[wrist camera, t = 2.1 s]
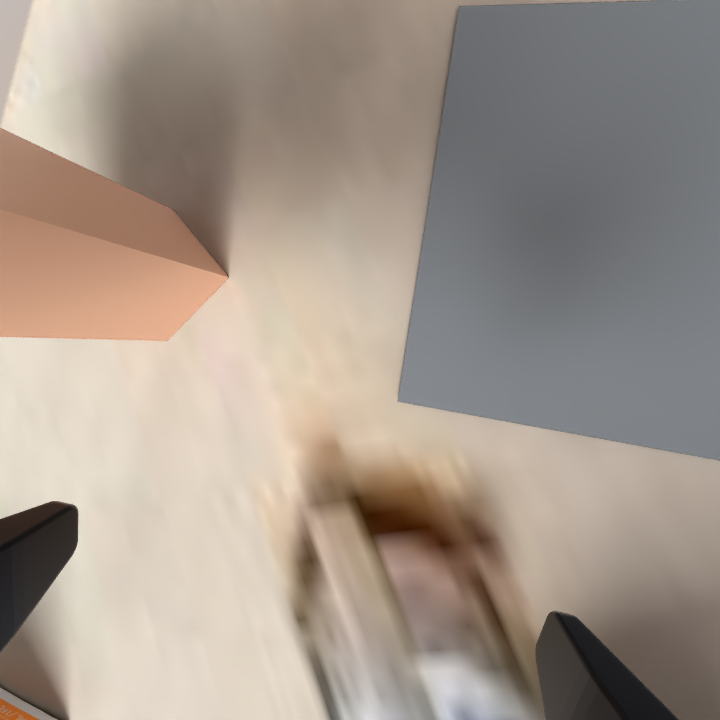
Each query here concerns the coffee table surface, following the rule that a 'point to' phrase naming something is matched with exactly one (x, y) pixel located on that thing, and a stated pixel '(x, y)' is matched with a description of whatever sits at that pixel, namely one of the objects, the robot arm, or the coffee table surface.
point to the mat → (577, 225)
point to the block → (91, 254)
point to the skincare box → (19, 709)
